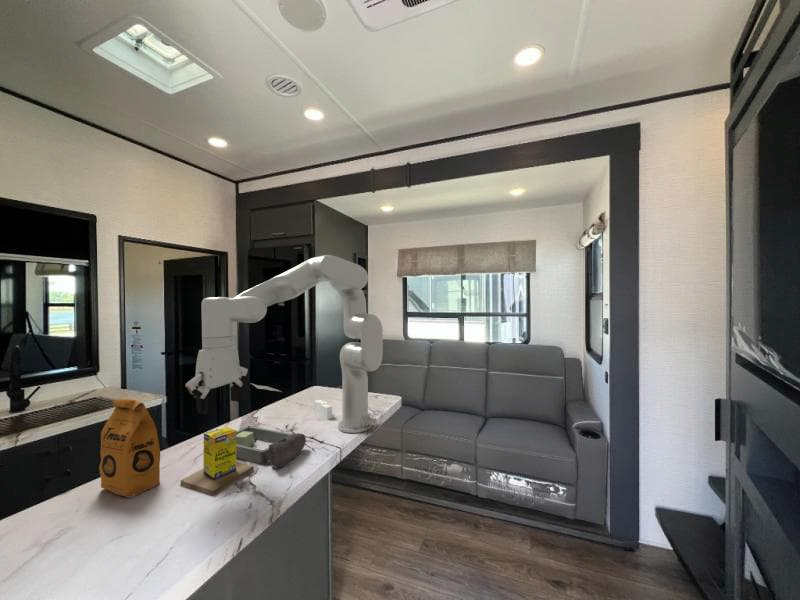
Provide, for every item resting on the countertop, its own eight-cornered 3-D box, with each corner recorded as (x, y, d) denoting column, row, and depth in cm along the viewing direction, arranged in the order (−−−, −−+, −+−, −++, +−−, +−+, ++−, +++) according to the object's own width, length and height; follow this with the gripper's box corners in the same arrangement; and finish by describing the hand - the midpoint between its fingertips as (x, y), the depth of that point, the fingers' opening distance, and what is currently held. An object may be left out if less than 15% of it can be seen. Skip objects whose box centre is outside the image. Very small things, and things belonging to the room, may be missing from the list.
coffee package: (119, 505, 71) (119, 409, 72) (94, 491, 77) (94, 402, 77) (167, 482, 80) (167, 397, 81) (141, 471, 86) (141, 392, 86)
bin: (294, 445, 101) (294, 434, 101) (263, 464, 89) (263, 452, 89) (248, 435, 109) (248, 425, 109) (214, 452, 97) (214, 441, 97)
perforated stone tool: (299, 447, 100) (299, 425, 100) (312, 450, 98) (312, 428, 98) (261, 470, 86) (261, 445, 86) (276, 474, 84) (276, 448, 84)
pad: (253, 470, 86) (253, 466, 86) (213, 495, 75) (213, 490, 75) (222, 462, 90) (222, 458, 90) (180, 485, 79) (180, 480, 79)
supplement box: (213, 481, 79) (213, 438, 79) (202, 473, 82) (202, 432, 82) (237, 470, 84) (237, 430, 84) (225, 464, 87) (225, 425, 87)
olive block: (253, 444, 102) (253, 432, 102) (244, 449, 98) (244, 437, 98) (242, 443, 103) (242, 431, 103) (234, 448, 99) (234, 436, 99)
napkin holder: (310, 411, 134) (310, 398, 134) (337, 409, 136) (337, 396, 136) (305, 424, 119) (305, 409, 120) (335, 423, 121) (334, 408, 121)
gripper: (236, 338, 92) (237, 395, 92) (175, 347, 76) (177, 416, 76) (255, 339, 90) (256, 398, 90) (196, 348, 73) (198, 420, 74)
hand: (220, 406), depth 83 cm, fingers open, 9 cm apart
